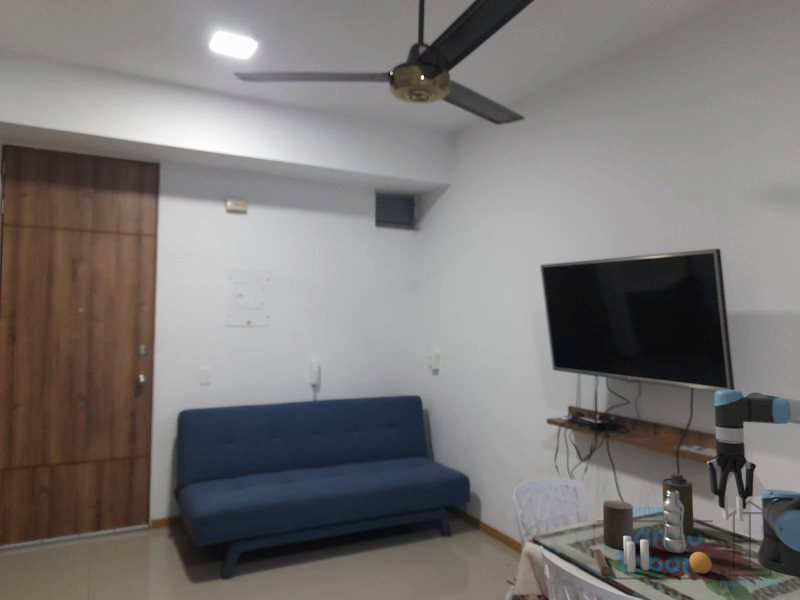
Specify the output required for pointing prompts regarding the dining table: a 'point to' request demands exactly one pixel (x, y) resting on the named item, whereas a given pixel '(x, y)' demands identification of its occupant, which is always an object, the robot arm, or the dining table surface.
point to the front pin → (644, 554)
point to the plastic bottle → (673, 523)
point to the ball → (700, 562)
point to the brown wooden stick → (601, 561)
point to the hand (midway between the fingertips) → (732, 518)
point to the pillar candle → (617, 522)
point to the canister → (681, 498)
